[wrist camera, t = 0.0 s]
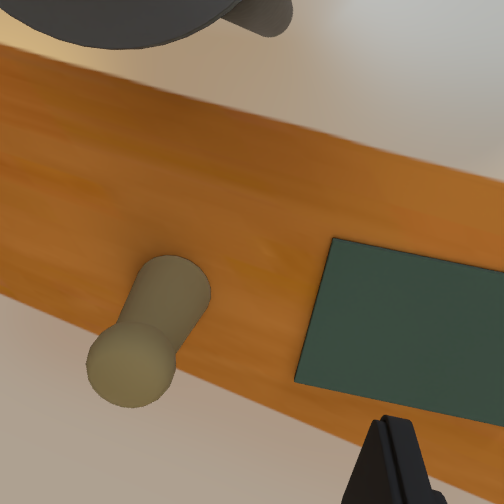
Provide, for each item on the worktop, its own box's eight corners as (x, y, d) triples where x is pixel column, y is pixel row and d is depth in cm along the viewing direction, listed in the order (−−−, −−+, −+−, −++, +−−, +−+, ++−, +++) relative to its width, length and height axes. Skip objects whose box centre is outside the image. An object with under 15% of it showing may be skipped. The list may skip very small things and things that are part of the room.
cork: (127, 258, 34) (55, 341, 24) (203, 252, 33) (161, 336, 23) (145, 324, 37) (86, 425, 27) (216, 320, 36) (183, 423, 26)
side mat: (332, 237, 32) (333, 240, 31) (583, 288, 31) (587, 292, 31) (294, 378, 37) (294, 382, 37) (507, 423, 37) (510, 428, 36)
